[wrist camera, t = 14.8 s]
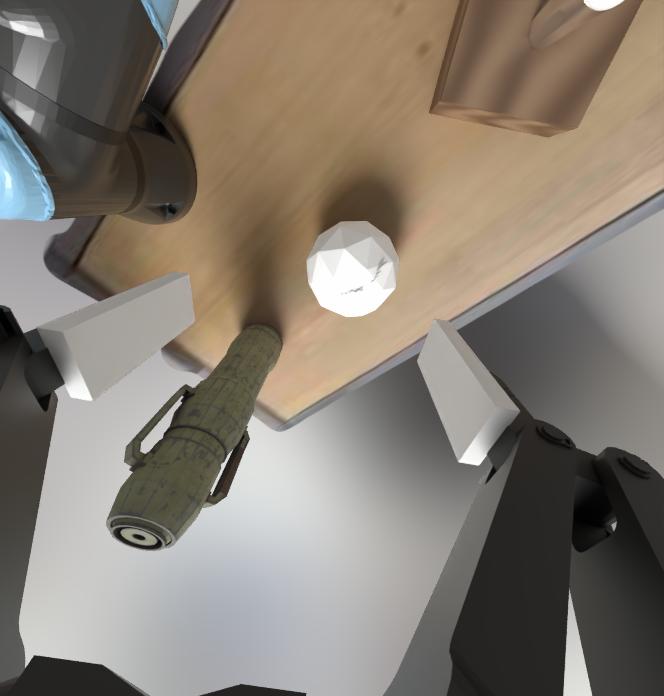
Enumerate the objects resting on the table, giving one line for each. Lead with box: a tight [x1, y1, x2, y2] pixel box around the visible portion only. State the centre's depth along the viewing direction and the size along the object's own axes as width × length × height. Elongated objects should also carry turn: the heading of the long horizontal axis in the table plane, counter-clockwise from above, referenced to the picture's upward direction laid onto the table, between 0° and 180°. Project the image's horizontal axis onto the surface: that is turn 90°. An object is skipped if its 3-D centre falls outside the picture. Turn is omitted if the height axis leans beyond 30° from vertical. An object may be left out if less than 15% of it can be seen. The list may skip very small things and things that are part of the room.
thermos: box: [106, 323, 283, 551], centre depth 37 cm, size 9×12×35 cm
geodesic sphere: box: [307, 221, 399, 317], centre depth 36 cm, size 14×14×14 cm
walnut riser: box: [429, 0, 643, 137], centre depth 27 cm, size 16×14×5 cm
